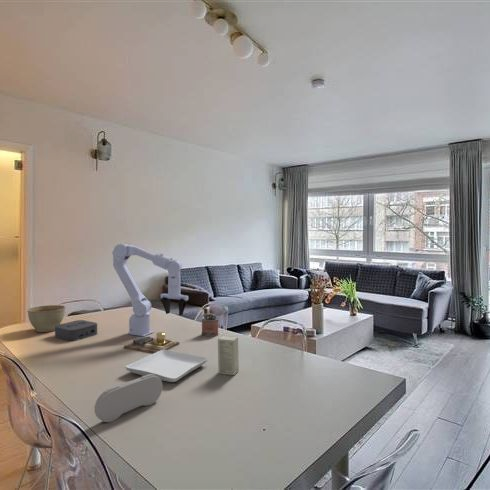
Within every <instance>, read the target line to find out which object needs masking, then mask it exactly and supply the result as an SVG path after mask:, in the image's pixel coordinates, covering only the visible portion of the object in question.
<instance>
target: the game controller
mask: <svg viewBox="0 0 490 490" xmlns="http://www.w3.org/2000/svg"><path fill="white" fill-rule="evenodd" d="M162 381H163V380H161V379H160V378H159V377H157V376H155V375H154V374H148V375H145V376H142V375H141V376H140V377H137V378H134V379H132V380H129V381H126V382H124V383H121V384H118V385H115V386H111V387H109V388H107V389H105V390H104V391H103V392H102V393H101V394H100V395H99V396H98V398H97V399H96V401H95V404H94V414H95V416H96V418H97V419H98V420H100V421H101V422H104V423H111V422H114V421H116V420H117V419H119V418H120V417H121V416H122V415H123V414H124V413H127V412H129V411H131V410H134V409H136V408H139V407H142V406H145V407H148V405H149V406H152V405H153V404H155V403H156V402H157V401H158V400H159V398H160V397H161V395H162V392H163V382H162Z"/></svg>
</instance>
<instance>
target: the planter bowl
mask: <svg viewBox="0 0 490 490" xmlns="http://www.w3.org/2000/svg"><path fill="white" fill-rule="evenodd" d="M65 311H66V306H65V305H62V304H61V305H58V304H57V305H55V304H53V305H52V304H50V305H40V306H35V307H34V306H33V307H30V308H28V309H27V316H28V320H29V323H30V324H31V326H32V327H33V328H34V329H35V332H37V333H48V332H53V331H54V332H55V326H56V325H59V324H62V322H63V320H64V317H65Z"/></svg>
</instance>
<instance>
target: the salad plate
mask: <svg viewBox="0 0 490 490" xmlns="http://www.w3.org/2000/svg"><path fill="white" fill-rule="evenodd" d="M208 360H209V357H206V356H202V355H196V354H191V353H186V352H182V351H181V352H180V351H177V350H176V351H175V350H170V349H168V350H161V351H158V352H156V353H150V354H149V355H146V356H145V357H142V358H140V359H138V360H136V361H134V362H132V363H131V362H130V363H129V364H127V365H125V366H124V368H125V370H127V371H129V372H131V373H133V374H135V375H140V376H141V377H142V376H145V375H148V374H154V375H155V376H157V377H159V378H160V379H161V381H164V382H169V383H175V382H177V381H179V380H180V379H181V378H184V377H185V376H187V375H188V374H190V373H192V372H193V371H194V370H197V369H198V368H200V367H202V366H203V365H204V364H206V363H207V362H208Z"/></svg>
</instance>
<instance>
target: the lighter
mask: <svg viewBox="0 0 490 490" xmlns="http://www.w3.org/2000/svg"><path fill="white" fill-rule="evenodd" d="M202 317H203V318H201V335H202V336H206V337H207V336H209V337H210V336H211V337H215V336H216V337H217V336H219V319H218V318H217V314H213V313H203V314H202Z"/></svg>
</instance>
